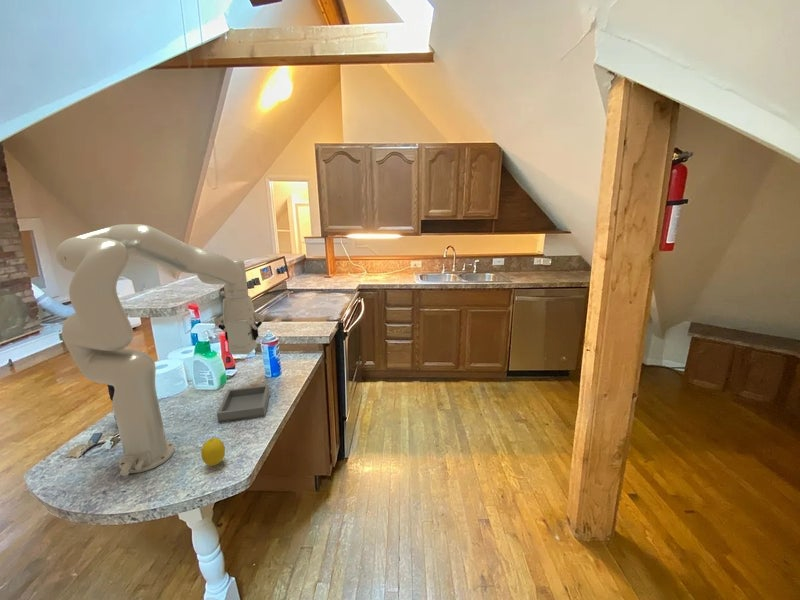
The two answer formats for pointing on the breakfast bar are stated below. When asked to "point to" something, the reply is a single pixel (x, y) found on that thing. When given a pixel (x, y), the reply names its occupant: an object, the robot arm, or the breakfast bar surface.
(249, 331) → the supplement box
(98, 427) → the breakfast bar surface
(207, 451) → the lemon
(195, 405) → the breakfast bar surface
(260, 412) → the tray
